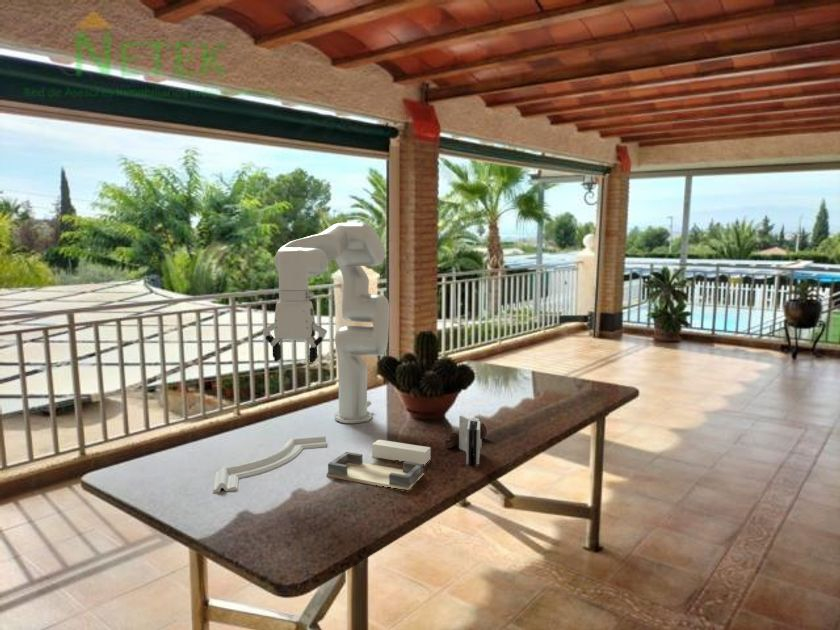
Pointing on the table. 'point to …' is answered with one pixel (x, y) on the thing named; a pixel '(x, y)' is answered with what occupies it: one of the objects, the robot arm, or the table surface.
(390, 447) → the slat
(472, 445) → the hinge
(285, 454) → the molding
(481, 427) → the bolt
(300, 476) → the table surface
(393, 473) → the cream and grey fixture
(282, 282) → the robot arm
